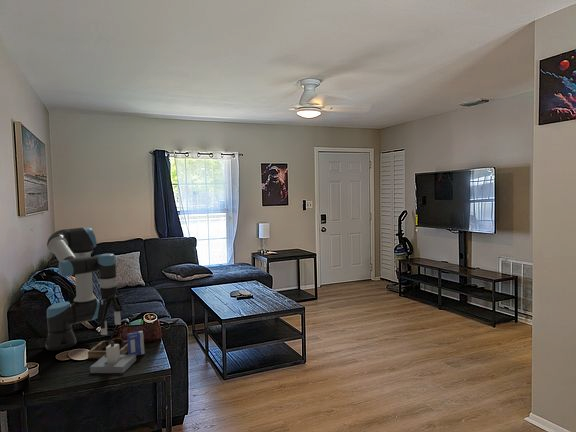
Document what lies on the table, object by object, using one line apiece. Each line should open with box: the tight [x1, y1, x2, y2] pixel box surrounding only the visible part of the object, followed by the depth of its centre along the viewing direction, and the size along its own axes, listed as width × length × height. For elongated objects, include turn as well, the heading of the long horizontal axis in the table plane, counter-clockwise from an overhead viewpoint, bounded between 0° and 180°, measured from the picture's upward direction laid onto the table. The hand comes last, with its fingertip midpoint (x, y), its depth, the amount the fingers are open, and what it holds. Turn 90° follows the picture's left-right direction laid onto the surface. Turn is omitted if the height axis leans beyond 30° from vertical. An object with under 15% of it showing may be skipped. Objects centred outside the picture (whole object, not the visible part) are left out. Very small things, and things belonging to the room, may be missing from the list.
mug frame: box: [87, 340, 128, 359], centre depth 224 cm, size 15×17×4 cm
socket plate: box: [89, 354, 137, 374], centre depth 206 cm, size 14×16×4 cm
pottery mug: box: [104, 337, 125, 349], centre depth 225 cm, size 12×10×8 cm
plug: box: [105, 341, 120, 364], centre depth 206 cm, size 4×4×12 cm
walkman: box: [126, 330, 146, 357], centre depth 219 cm, size 8×3×12 cm, turn 123°
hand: (111, 329), depth 205 cm, fingers open, 13 cm apart
